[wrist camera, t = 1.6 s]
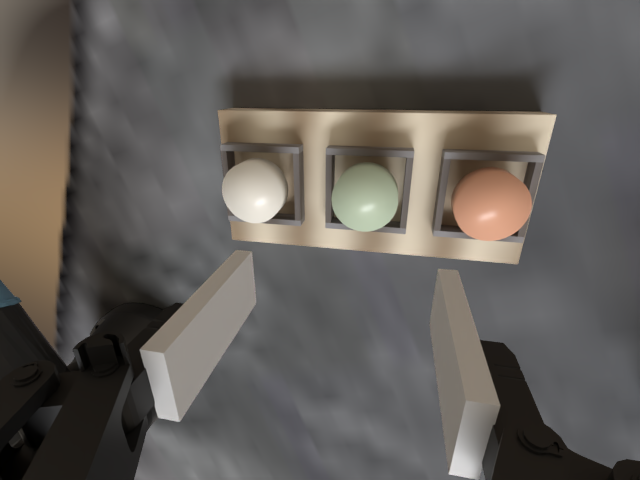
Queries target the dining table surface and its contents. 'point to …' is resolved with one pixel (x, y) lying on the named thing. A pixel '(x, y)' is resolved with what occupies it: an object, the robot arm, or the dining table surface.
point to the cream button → (255, 190)
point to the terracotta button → (490, 204)
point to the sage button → (365, 197)
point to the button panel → (398, 158)
